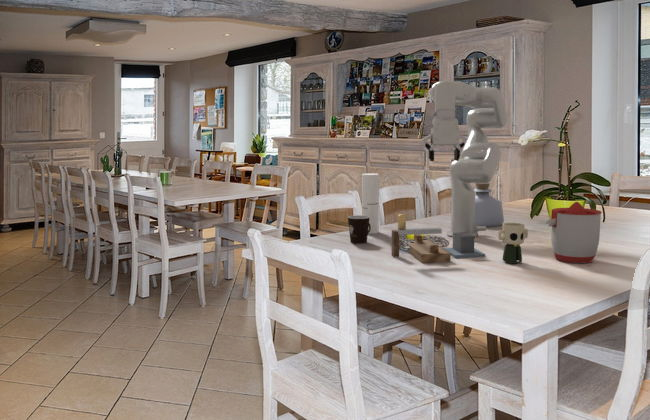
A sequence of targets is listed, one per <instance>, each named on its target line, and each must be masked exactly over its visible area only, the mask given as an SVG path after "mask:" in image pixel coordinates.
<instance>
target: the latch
mask: <svg viewBox="0 0 650 420" xmlns="http://www.w3.org/2000/svg"><path fill="white" fill-rule="evenodd" d="M406 221H407V215H406V214H404V213H401V214H400V213H399V214H397V230H398V234H399V236H404V235H405V236H407V235H411V236H412V235H414V234H420V235H435V234H436V235H437V234H439V235H440V234H442V233H443V232H442V230H443V229H442V228H441V227H425V228H424V227H419V228H413V227H412V228H406V223H407V222H406Z"/></svg>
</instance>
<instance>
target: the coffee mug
mask: <svg viewBox="0 0 650 420" xmlns="http://www.w3.org/2000/svg"><path fill="white" fill-rule="evenodd" d="M369 219H370V217H369V216H362V214H360V215H357V214H356V215H349V216H347V222H348V223H347V224H348V231H349V241H350V243H351V244H355V245H356V244H357V245H358V244H359V245H361V244H366V243H368V235H369V234H368V233H369V232H370V229H371V226H370V224H369ZM368 227H369V230H368Z"/></svg>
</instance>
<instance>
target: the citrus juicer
mask: <svg viewBox="0 0 650 420" xmlns="http://www.w3.org/2000/svg"><path fill="white" fill-rule="evenodd" d="M602 213H603V212H602V211H601V210H599V209H593V208H586V207H585V208H584V206H583V205H582V204H581V203H580V202H578V201H575V202H573V203H572V204H571V205H570V206H569V207H557V208H552V209H551V214H550V215H551V217H550V219H548V220H547V221H546V222H545V226H546V227H551V237H550V238H551V246H552V250H553V255H554V258H555V259H556V260H558V261H560V262H563V263H566V264H569V263H575V264H576V263H577V264H590V263H591V262H593V260H594V259H595V257H596V254H597V251H598V248H599V243H600V235H601V233H600V232H601V216H602Z"/></svg>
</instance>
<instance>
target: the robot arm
mask: <svg viewBox="0 0 650 420" xmlns="http://www.w3.org/2000/svg"><path fill="white" fill-rule="evenodd" d="M430 97H431V99H432V100H433V101H434V110H433V111H431V113H430V115H431V117H434V118H432V121H431V122H432V123H431V128H430V134H428V135H427V136H425V137H423V138H422V139H421V141H422V143H423V146H424V147H425V148H426V149H427V151H428V159H429V161H430V162H434V161H435V150H434V149H435V148H436V146H452V147H454V150H453V151H454V152H453V153H454V154H453V156H454V157H453V159H454V160H452V162H451V163H450V166H449V175H450V182H451V208H450V209H451V213H450V214H451V216H450V217H451V219H450V230H448V231H447V232H446V235H447V236H449V237H452V238H453V233H457V232H467V233H469V234H471V235H473V236H475V238H476V237H478V236H479V231H480V232H484V231H486V230H487V227H486V226H477V225H475V195H476V192H475V191H474V189H475V188H474V187H473V186H472V184H471V183H473V184H476V183H490V182H491V181H492V180H493V178H494V175H495V174H496V171H497V168H498V166H499V165H500V161H501V155H502V154H501V153H502V152H501V147H500V146H499V145H498V144H497V143H495V142H489V138H488V136H487V135H486V132H485V131H483V130H482V129H502V128H504V127H506V125H507V123H508V112H507V109H506V105H505V102H504V98H503V95H502V93H501V91H500V89H499V88H497V87H494V86H491V87H490V86H488V87H477V86H473V85H471V84H467V83H465V82H464V81H459V80H458V81H452V80H441V81H438V82H435V83H434V84H433V85H432V86H431V89H430ZM456 106H458V107H459V106H460V107H461V106H462V107H463V106H464V107H467V108H471V110H469V111H468V112H467V115H466V129H467V135H468V137H466V136H464V135H462V134H460V127H459V121H458V118H456ZM428 140H429V142H430V144H429V143H428ZM460 140H461V142H460Z"/></svg>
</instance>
